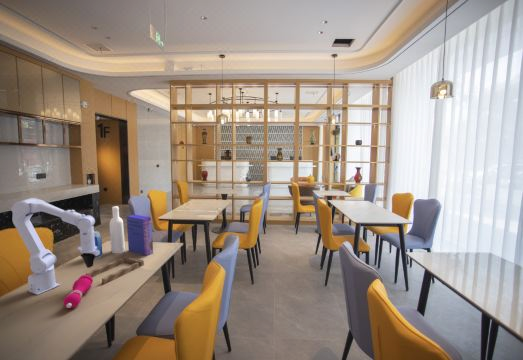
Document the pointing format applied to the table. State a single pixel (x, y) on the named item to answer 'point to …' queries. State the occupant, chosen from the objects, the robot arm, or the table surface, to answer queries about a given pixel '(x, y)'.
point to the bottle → (116, 232)
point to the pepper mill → (78, 291)
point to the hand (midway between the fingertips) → (89, 266)
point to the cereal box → (140, 234)
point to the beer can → (98, 243)
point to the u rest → (133, 261)
